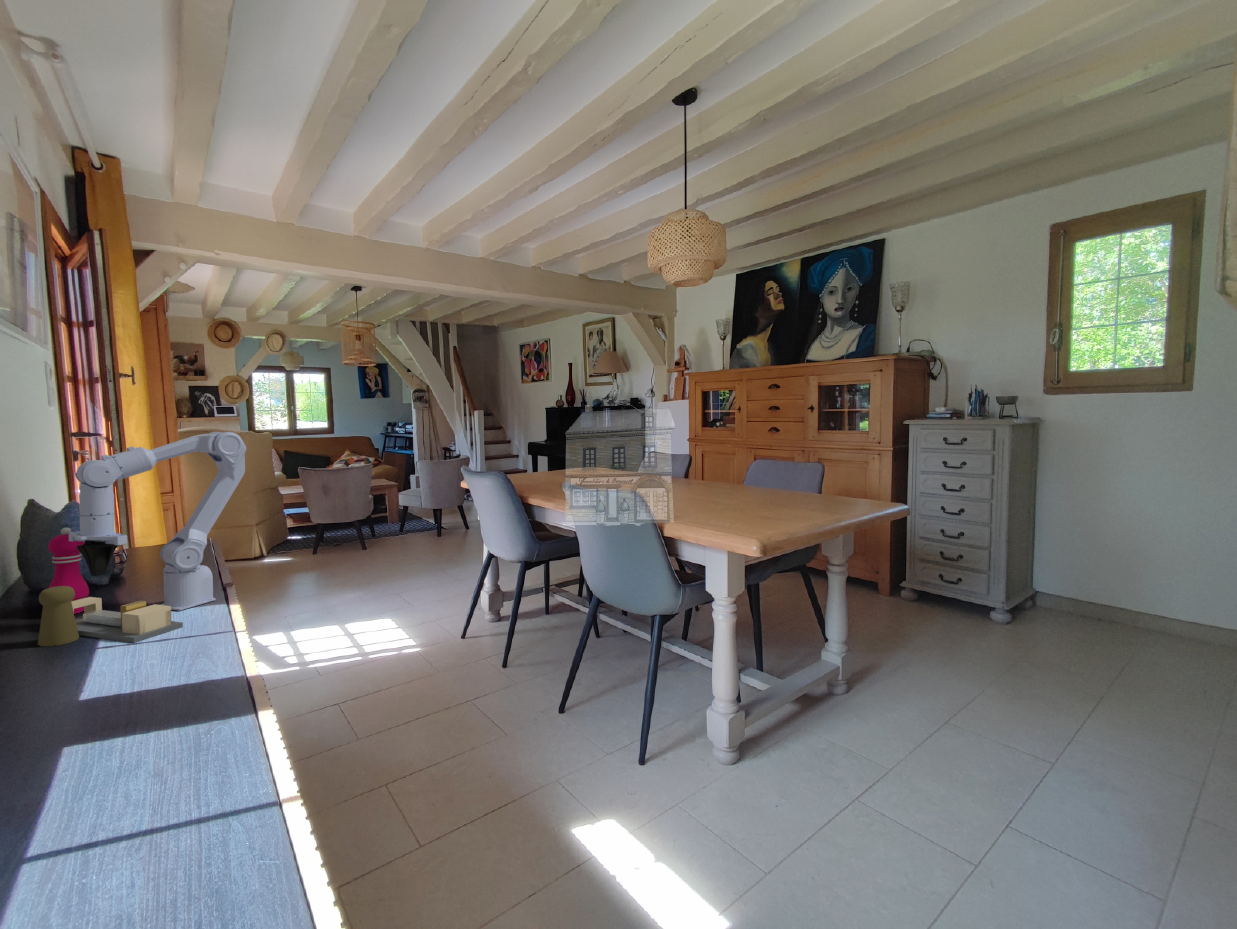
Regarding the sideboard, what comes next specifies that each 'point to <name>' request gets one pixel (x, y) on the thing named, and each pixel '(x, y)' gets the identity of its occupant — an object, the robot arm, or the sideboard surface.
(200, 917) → the sideboard surface
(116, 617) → the rod
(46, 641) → the cork
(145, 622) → the jig board
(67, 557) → the pepper mill
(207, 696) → the sideboard surface
